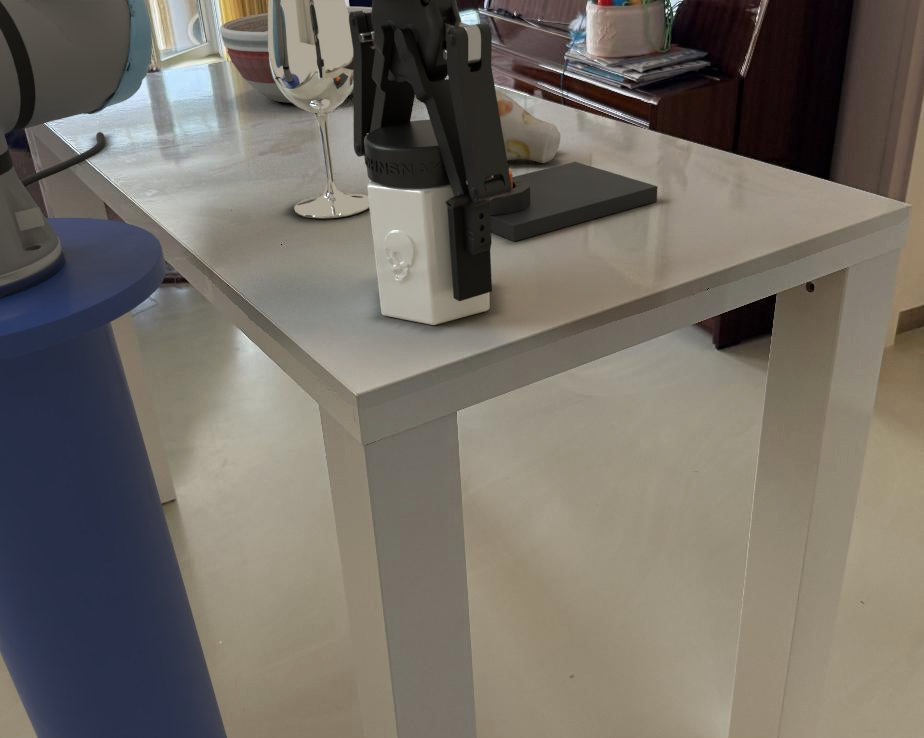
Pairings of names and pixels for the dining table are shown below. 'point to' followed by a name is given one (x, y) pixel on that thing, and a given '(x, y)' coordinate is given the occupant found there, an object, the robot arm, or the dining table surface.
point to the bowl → (255, 52)
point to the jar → (413, 225)
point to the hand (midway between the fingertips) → (434, 275)
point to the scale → (564, 199)
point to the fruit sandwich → (526, 132)
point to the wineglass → (315, 81)
